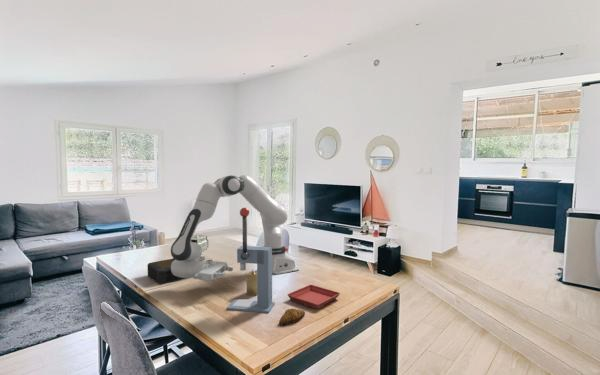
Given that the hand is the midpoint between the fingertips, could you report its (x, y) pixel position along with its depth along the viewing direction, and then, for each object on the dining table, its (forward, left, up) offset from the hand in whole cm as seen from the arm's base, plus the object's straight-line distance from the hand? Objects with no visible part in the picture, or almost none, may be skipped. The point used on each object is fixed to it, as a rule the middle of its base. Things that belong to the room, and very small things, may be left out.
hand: (228, 272), depth 164 cm
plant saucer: (-36, +23, -10) cm, 44 cm away
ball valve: (+12, -59, -10) cm, 61 cm away
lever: (-4, +25, +13) cm, 28 cm away
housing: (-11, +6, -10) cm, 16 cm away
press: (-7, +21, -10) cm, 24 cm away
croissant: (-20, +39, -10) cm, 45 cm away
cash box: (+25, -35, -10) cm, 44 cm away
